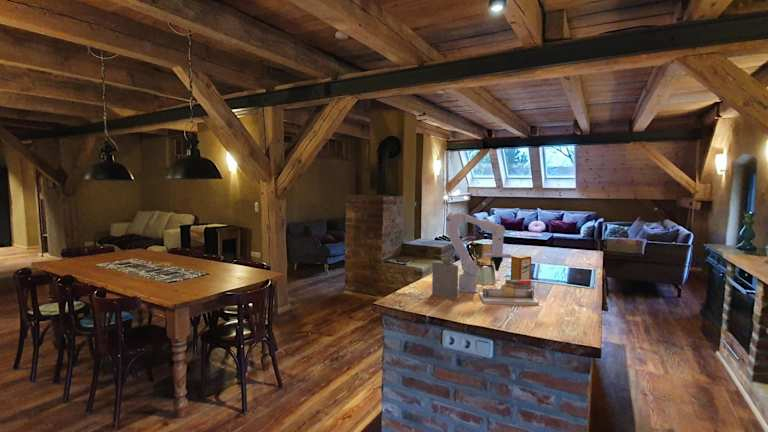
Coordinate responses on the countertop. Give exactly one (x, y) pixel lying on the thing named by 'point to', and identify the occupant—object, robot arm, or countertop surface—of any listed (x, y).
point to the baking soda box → (520, 268)
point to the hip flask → (445, 279)
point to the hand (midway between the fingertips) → (496, 270)
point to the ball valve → (508, 292)
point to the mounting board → (508, 300)
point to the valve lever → (519, 281)
